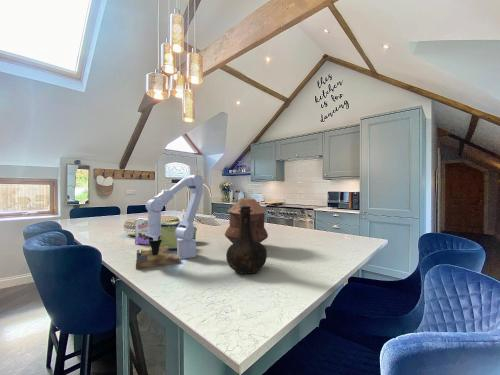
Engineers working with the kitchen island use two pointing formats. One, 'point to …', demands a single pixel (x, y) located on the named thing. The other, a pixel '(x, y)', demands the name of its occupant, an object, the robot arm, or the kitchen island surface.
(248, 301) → the kitchen island surface
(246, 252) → the dark brown ceramic vase
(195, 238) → the food container
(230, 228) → the pottery vessel
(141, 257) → the cup bracket
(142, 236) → the candy box
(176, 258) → the walnut base board
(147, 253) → the oak rail
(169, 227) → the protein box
